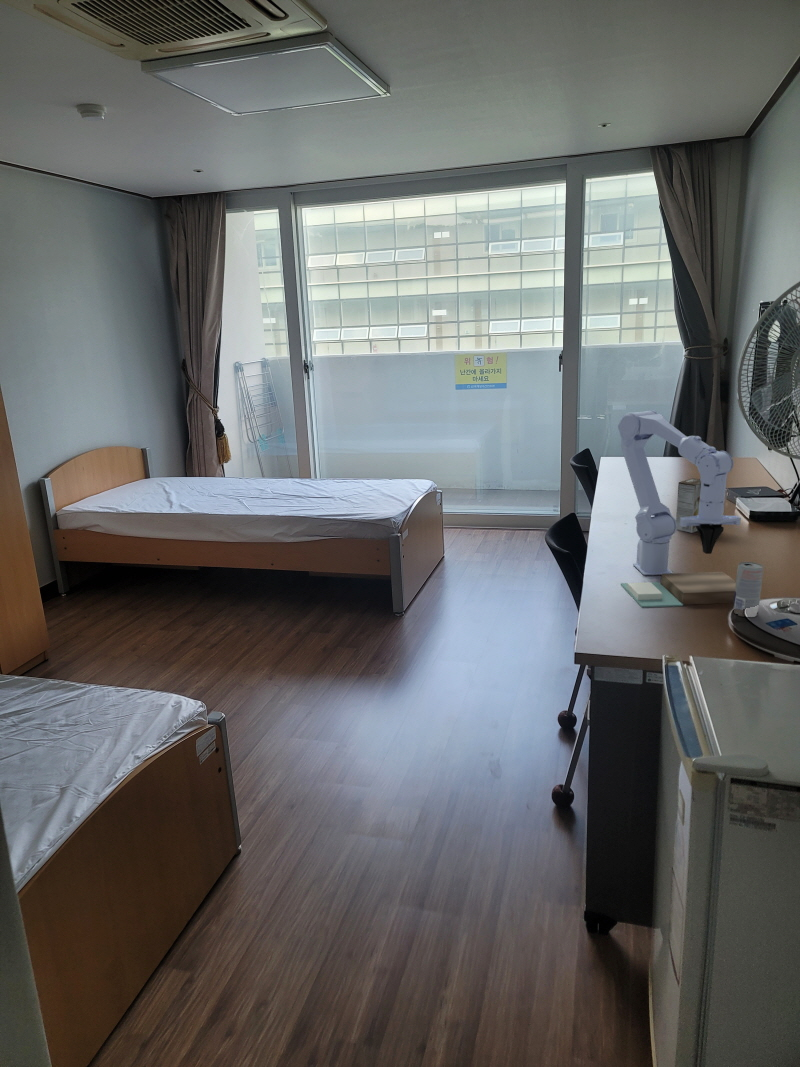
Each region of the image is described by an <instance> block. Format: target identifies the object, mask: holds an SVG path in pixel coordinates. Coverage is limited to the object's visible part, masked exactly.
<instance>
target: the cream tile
mask: <svg viewBox="0 0 800 1067" xmlns="http://www.w3.org/2000/svg"><path fill="white" fill-rule="evenodd" d="M626 583H627V589H628V590H629V591H630V592H631V593H632V594H633V595H634V597H635V598H636V599H637V600H652V599H662V593H661V592H660V591H659V590H658V589H657V588H656V587H655V586H654V585H653V584H652V583H651V581H647V583H644V582H626Z"/></svg>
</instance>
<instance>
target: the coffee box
mask: <svg viewBox="0 0 800 1067" xmlns="http://www.w3.org/2000/svg"><path fill="white" fill-rule="evenodd" d="M700 491H701V481H700V478H694V477H692V478H688V479H685V480H682V481H679V482H678V487H677V497H676V498H677V500H676V501H677V502H676V515H675V520H676V523H677V529H676V531H681V532H686V533H691V534H692V533H695V532H698V530H697V528H696V526H687V527H682V526H681V525H680V518H683V517H691V516H698V513H699V502H700Z"/></svg>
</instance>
